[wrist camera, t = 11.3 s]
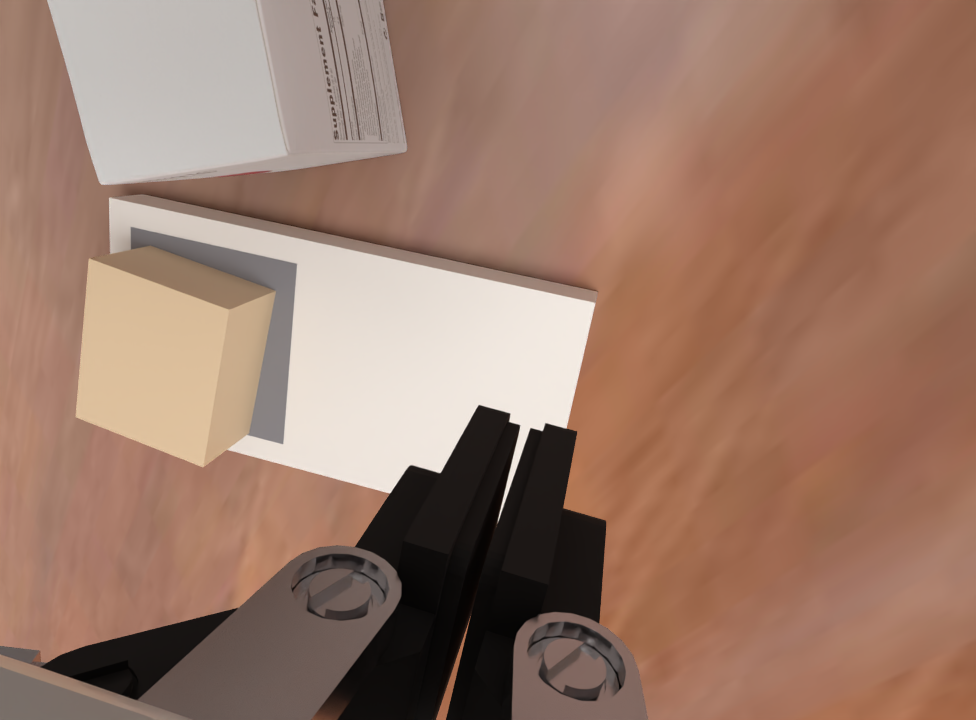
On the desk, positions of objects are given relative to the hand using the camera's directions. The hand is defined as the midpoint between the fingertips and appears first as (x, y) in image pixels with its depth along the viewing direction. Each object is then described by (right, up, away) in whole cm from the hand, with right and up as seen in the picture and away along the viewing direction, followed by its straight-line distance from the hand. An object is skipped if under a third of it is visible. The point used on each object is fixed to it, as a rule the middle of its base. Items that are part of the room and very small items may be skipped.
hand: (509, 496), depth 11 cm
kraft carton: (-18, +3, +32) cm, 37 cm away
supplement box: (-10, +18, +28) cm, 35 cm away
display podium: (-10, +3, +33) cm, 35 cm away
